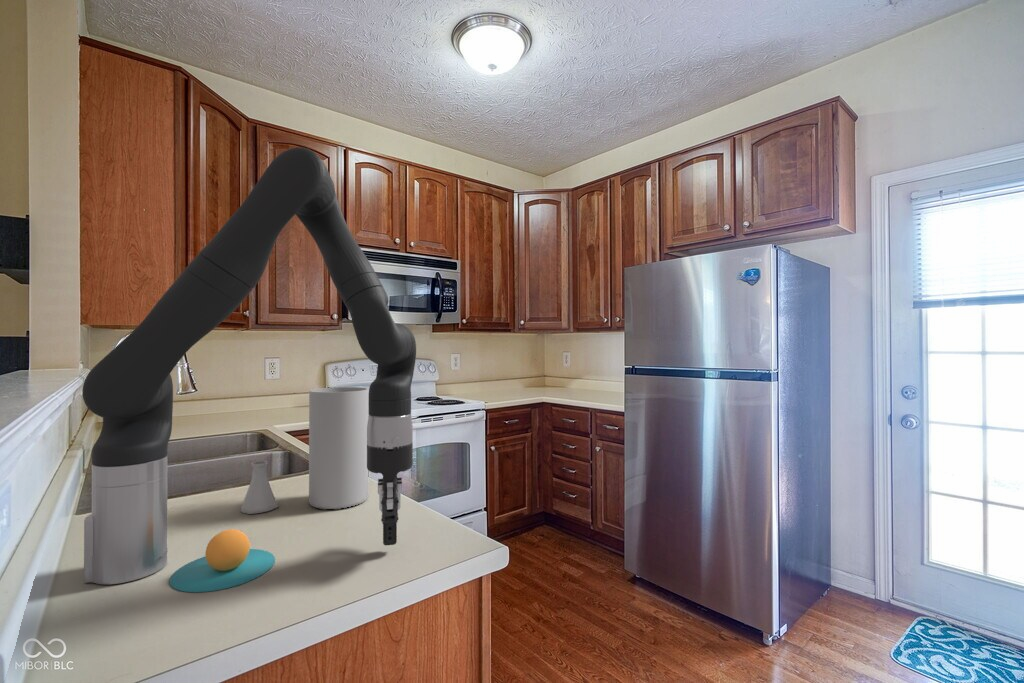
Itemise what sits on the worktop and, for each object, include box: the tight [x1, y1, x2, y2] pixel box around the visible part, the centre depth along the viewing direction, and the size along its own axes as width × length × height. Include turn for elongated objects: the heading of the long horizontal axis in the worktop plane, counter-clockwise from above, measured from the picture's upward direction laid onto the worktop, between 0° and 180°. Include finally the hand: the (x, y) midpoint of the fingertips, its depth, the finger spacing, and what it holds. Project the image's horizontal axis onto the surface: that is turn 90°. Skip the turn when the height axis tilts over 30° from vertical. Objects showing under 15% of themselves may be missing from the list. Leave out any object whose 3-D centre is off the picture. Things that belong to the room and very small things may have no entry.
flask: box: [240, 460, 279, 515], centre depth 103 cm, size 7×7×10 cm
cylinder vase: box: [308, 386, 369, 510], centre depth 108 cm, size 12×12×25 cm
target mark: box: [169, 548, 276, 593], centre depth 75 cm, size 14×14×1 cm
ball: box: [204, 528, 251, 571], centre depth 75 cm, size 6×6×6 cm
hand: (389, 543), depth 81 cm, fingers closed
